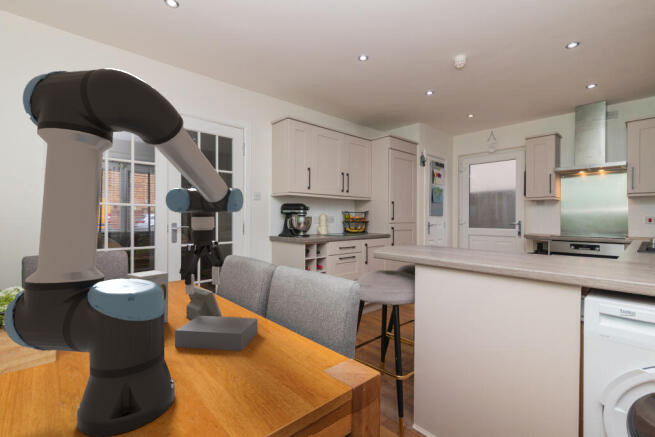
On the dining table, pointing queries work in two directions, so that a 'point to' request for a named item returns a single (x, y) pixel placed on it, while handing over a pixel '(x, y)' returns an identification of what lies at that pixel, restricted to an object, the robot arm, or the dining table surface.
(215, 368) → the dining table surface
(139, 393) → the robot arm
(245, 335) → the charcoal block
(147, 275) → the supplement box
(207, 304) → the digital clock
